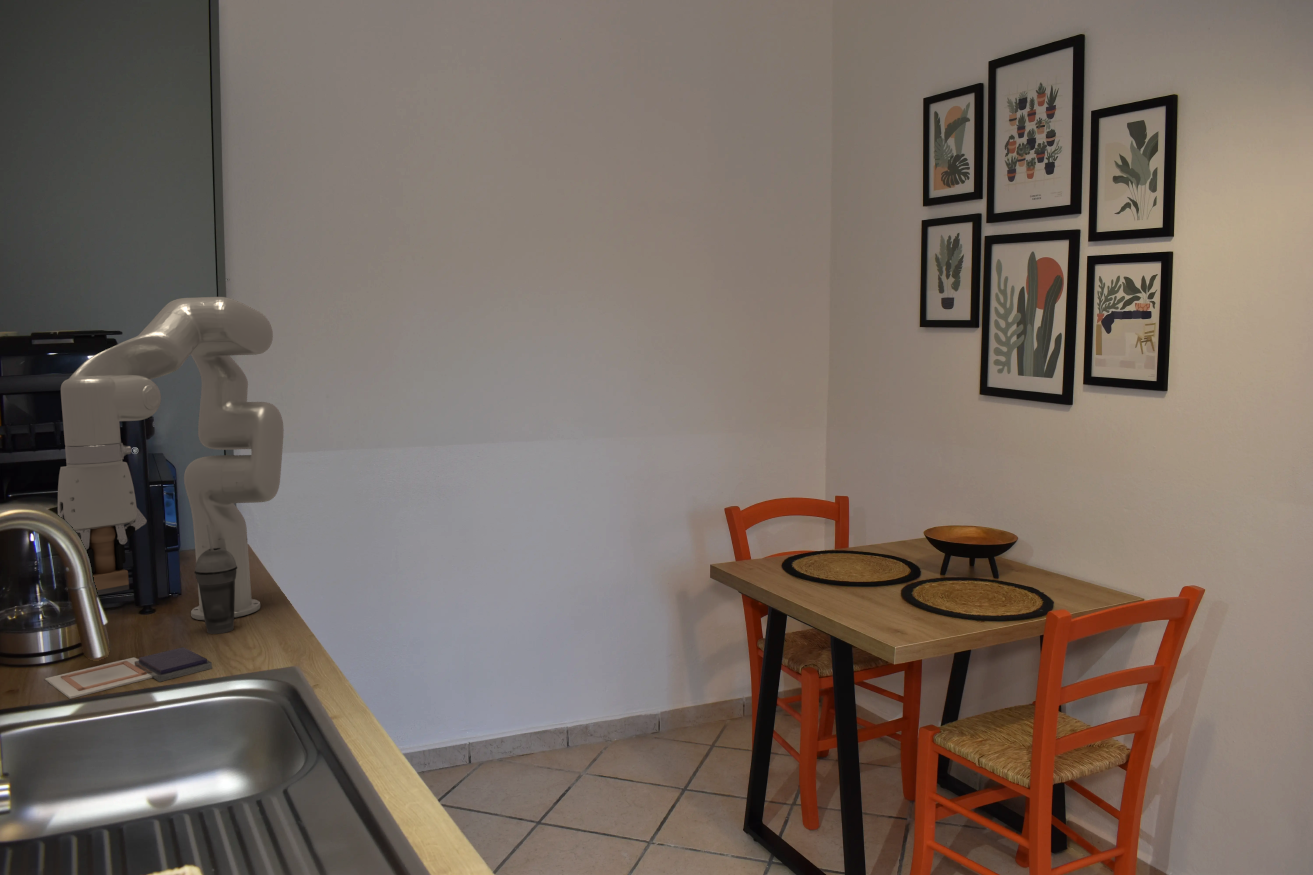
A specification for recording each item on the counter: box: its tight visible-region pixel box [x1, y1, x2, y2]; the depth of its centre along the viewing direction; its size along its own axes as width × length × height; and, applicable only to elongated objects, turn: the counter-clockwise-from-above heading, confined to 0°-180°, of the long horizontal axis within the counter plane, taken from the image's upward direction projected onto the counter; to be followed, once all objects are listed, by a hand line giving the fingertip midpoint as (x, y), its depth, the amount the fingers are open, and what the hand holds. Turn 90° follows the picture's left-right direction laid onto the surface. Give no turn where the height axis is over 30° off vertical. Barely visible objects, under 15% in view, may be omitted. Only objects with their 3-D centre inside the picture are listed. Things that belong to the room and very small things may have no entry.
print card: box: [44, 657, 154, 699], centre depth 147 cm, size 13×13×1 cm
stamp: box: [89, 526, 130, 596], centre depth 146 cm, size 5×5×11 cm
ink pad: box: [135, 646, 213, 683], centre depth 151 cm, size 11×8×2 cm
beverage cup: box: [194, 525, 237, 635], centre depth 171 cm, size 7×7×20 cm
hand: (103, 569), depth 146 cm, fingers closed on stamp, 3 cm apart
